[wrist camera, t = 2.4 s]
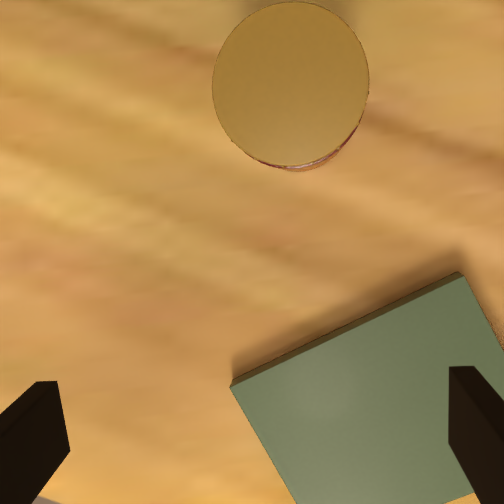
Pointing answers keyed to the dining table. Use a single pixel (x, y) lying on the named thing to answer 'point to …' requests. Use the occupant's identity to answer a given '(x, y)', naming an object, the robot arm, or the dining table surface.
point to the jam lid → (290, 84)
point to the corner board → (374, 401)
